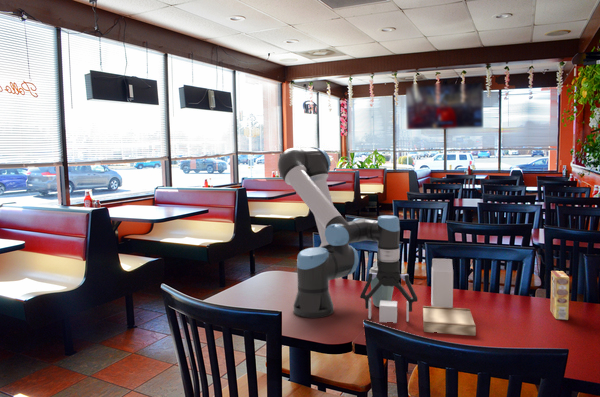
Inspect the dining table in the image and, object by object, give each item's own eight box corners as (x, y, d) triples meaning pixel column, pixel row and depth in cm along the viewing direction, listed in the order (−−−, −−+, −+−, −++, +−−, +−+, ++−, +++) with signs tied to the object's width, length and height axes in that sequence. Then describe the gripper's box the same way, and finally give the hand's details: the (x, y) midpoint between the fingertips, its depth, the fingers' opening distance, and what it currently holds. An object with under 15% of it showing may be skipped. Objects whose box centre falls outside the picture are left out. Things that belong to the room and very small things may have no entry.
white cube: (379, 322, 157) (379, 305, 157) (380, 316, 163) (380, 300, 162) (396, 323, 156) (396, 306, 155) (397, 317, 162) (397, 301, 161)
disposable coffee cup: (369, 300, 181) (369, 263, 179) (396, 301, 179) (396, 264, 177) (368, 309, 170) (367, 270, 169) (396, 310, 168) (397, 271, 167)
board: (423, 331, 148) (423, 321, 147) (422, 314, 163) (423, 305, 163) (475, 335, 144) (475, 325, 143) (469, 318, 159) (469, 308, 159)
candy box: (568, 320, 155) (570, 277, 154) (555, 319, 157) (556, 276, 155) (562, 312, 164) (563, 270, 162) (549, 311, 165) (550, 270, 164)
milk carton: (452, 311, 166) (453, 261, 164) (432, 310, 167) (433, 260, 166) (450, 305, 173) (450, 257, 171) (431, 304, 174) (431, 256, 172)
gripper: (352, 260, 157) (352, 320, 159) (425, 263, 151) (424, 325, 153) (354, 256, 164) (355, 312, 166) (424, 258, 158) (424, 317, 160)
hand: (388, 319), depth 159 cm, fingers open, 12 cm apart
